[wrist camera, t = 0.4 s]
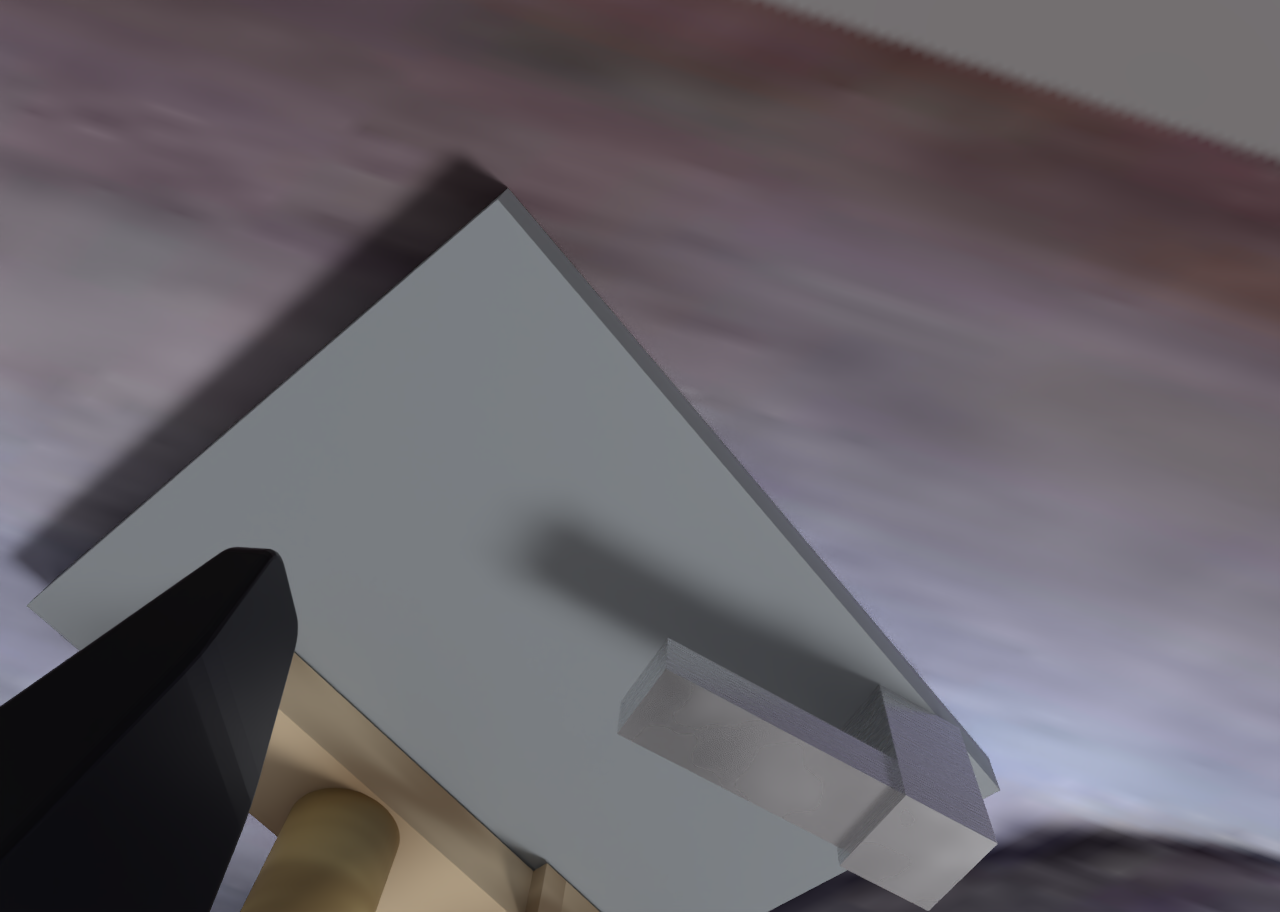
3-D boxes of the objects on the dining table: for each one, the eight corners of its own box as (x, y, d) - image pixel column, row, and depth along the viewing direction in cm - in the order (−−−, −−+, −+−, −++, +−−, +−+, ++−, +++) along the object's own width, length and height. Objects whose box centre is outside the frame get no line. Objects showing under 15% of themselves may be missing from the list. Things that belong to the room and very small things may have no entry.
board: (538, 998, 33) (533, 1033, 32) (53, 580, 27) (26, 605, 26) (988, 758, 28) (1000, 790, 27) (507, 187, 22) (497, 199, 21)
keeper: (900, 790, 27) (928, 910, 23) (624, 644, 26) (610, 749, 22) (959, 727, 26) (997, 843, 22) (676, 572, 25) (670, 670, 21)
